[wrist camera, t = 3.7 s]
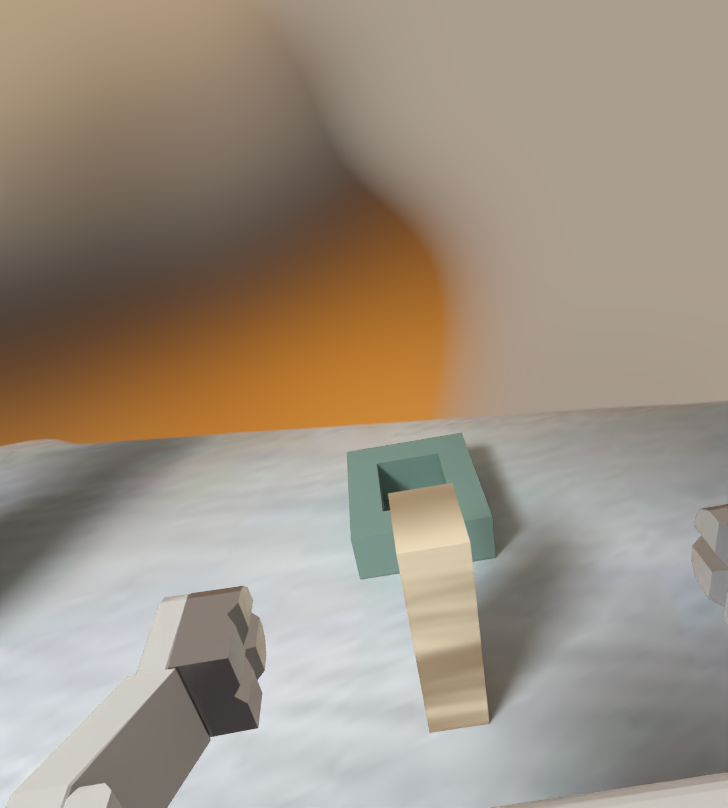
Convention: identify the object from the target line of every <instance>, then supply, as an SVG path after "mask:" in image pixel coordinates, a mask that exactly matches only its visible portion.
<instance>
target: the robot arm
mask: <svg viewBox="0 0 728 808" xmlns="http://www.w3.org/2000/svg"><path fill="white" fill-rule="evenodd" d="M694 527H695V528H696V529H697V531H698V532H699V533H700V534H701V537H700V538H699V539H698V540H697V541H696V542H695V543H694V545H693V546H692V558H691V561H692V565H693V570H694V574H695V577H696V579H697V581H698V583H699V585H700V587H701V589H702V590H703V591H704V593H705V594H706V596H707V597H708V599H710V600H712V601H714V602H716V603H718V604H720V605H721V606H723V607H725V611H724V618H723V619H724V621H725V622H726V623H727V625H728V504H725V505H720V506H714V507H708V508H703V509H700V510H699V511H698V513H697V515H696V519H695V526H694ZM252 603H253V599H252V597H251V595H250V592H249V590H248V587H245V586H239V587H232V588H225V589H218V590H211V591H204V592H197V593H191V594H188V595H181V596H174V597H166V598H164V599H163V600H162V601H161V603H160V604H159V606H158V609H157V612H156V615H155V618H154V621H153V624H152V627H151V630H150V633H149V636H148V639H147V642H146V645H145V648H144V651H143V654H142V657H141V660H140V663H139V666H138V669H137V672H136V675H131V676H127V677H126V678H125V679H124V680H123V681H122V682H121V683H120V684H119V685H118V686H117V687H116V688H115V690H114V691H113V692H112V693H111V694H110V695H109V696H108V697H107V698H106V699H105V700H104V701H103V702H102V703H101V704H100V705H99V706H98V707H97V708H96V709H95V710H94V711H93V712H92V713H91V714H90V715H89V716H88V717H87V718H86V719H85V720H84V721H83V722H82V723H81V724H80V725H79V726H78V727H77V728H76V729H75V730H74V731H73V732H72V733H71V734H70V735H69V736H68V737H67V738H66V740H65V741H64V742H63V743H62V744H61V745H60V746H59V747H58V748H57V749H56V750H55V751H54V752H53V753H52V754H51V755H50V756H49V757H48V758H47V759H46V760H45V761H44V762H43V763H42V764H41V765H40V766H39V767H38V768H37V769H36V770H35V771H34V772H33V773H32V774H31V775H30V776H29V777H28V778H27V779H26V780H25V781H24V782H23V783H22V784H21V785H20V786H19V787H18V788H17V789H16V791H15V792H14V793H13V794H12V795H11V796H10V799H9V801H8V803H7V805H6V808H167V807H168V805H169V804H170V802H171V801H172V799H173V798H174V796H175V795H176V793H177V791H178V790H179V788H180V787H181V785H182V784H183V782H184V781H185V779H186V778H187V776H188V774H189V773H190V771H191V770H192V768H193V767H194V765H195V764H196V762H197V761H198V759H199V757H200V756H201V754H202V753H203V751H204V750H205V748H206V747H207V745H208V744H209V742H210V737H214V736H219V735H224V734H230V733H235V732H240V731H245V730H251V729H256V728H258V725H259V716H260V708H261V699H262V691H261V688H260V686H259V683H258V681H257V680H258V679H259V677H260V676H261V675H262V673H263V672H264V671H265V662H266V645H265V636H264V631H263V627H262V624H261V621H260V618H259V617H258V616H256V615H254V614H253V613H251V610H252ZM492 808H728V772H725V773H718V774H712V775H705V776H698V777H692V778H685V779H678V780H672V781H665V782H659V783H652V784H645V785H639V786H632V787H625V788H619V789H612V790H606V791H599V792H592V793H586V794H579V795H572V796H566V797H559V798H552V799H546V800H539V801H532V802H526V803H519V804H512V805H506V806H499V807H492Z"/></svg>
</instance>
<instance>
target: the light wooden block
mask: <svg viewBox="0 0 728 808" xmlns="http://www.w3.org/2000/svg"><path fill="white" fill-rule="evenodd" d="M388 498H389V505H390V512H391V520H392V527H393V534H394V541H395V548H396V555H397V560H398V566H399V571H400V576H401V582H402V587H403V592H404V598H405V603H406V608H407V614H408V619H409V624H410V630H411V635H412V640H413V646H414V651H415V656H416V662H417V667H418V672H419V678H420V683H421V689H422V694H423V699H424V705H425V710H426V715H427V721H428V726H429V731H430V732H436V731H443V730H449V729H456V728H463V727H469V726H476V725H483V724H489V714H488V705H487V695H486V686H485V676H484V667H483V657H482V648H481V638H480V629H479V620H478V610H477V601H476V591H475V582H474V572H473V563H472V553H471V544H470V540H469V536H468V533H467V530H466V526H465V523H464V520H463V516H462V513H461V510H460V506H459V503H458V500H457V496H456V493H455V490H454V486H453V483H448V484H442V485H436V486H430V487H424V488H418V489H412V490H406V491H400V492H394V493H388Z"/></svg>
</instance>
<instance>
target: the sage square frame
mask: <svg viewBox="0 0 728 808" xmlns="http://www.w3.org/2000/svg"><path fill="white" fill-rule="evenodd" d="M347 466H348V487H349V508H350V529H351V542H352V546H353V550H354V555H355V559H356V563H357V567H358V572H359V576H360V579H365V578H371V577H378V576H384V575H390V574H396V573H400V571H399V566H398V560H397V555H396V548H395V541H394V534H393V527H392V520H391V512H390V510H389V511H385V507H384V500H389V498H388V493H394V492H400V491H406V490H412V489H418V488H424V487H430V486H436V485H442V484H448V483H453V486H454V490H455V493H456V496H457V500H458V503H459V506H460V510H461V513H462V516H463V520H464V523H465V526H466V530H467V533H468V536H469V540H470V544H471V553H472V561H477V560H483V559H489V558H496V555H495V542H494V530H493V517H492V514H491V511H490V508H489V506H488V503H487V500H486V498H485V495H484V492H483V489H482V487H481V484H480V481H479V479H478V476H477V473H476V470H475V468H474V465H473V462H472V460H471V457H470V454H469V451H468V449H467V446H466V443H465V441H464V438H463V435H462V433H457V434H452V435H446V436H440V437H434V438H428V439H422V440H416V441H410V442H404V443H398V444H392V445H386V446H380V447H374V448H369V449H363V450H357V451H351V452H347Z"/></svg>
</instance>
